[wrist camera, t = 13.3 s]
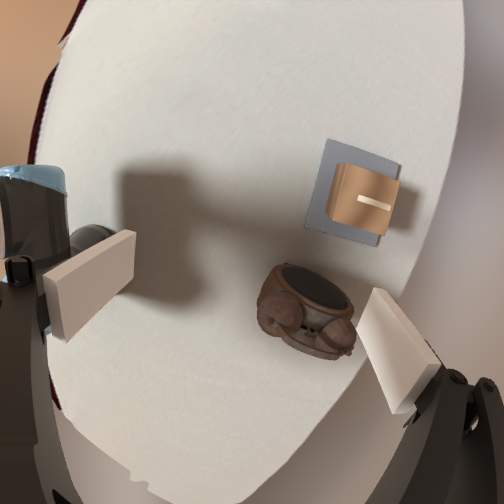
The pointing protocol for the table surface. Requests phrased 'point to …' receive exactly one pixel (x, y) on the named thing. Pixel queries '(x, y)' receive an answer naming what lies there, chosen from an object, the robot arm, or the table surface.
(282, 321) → the alarm clock
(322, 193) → the plate
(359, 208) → the tan drawer box
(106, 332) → the table surface
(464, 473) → the robot arm
